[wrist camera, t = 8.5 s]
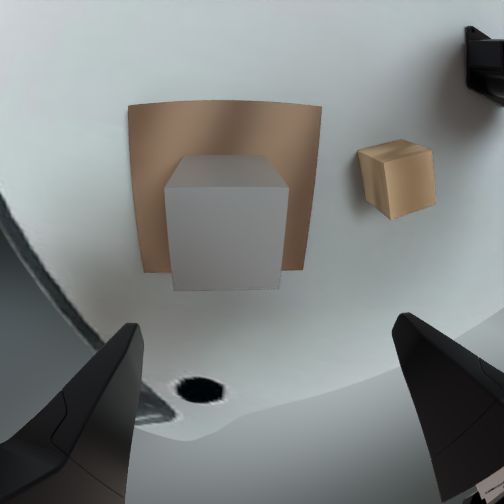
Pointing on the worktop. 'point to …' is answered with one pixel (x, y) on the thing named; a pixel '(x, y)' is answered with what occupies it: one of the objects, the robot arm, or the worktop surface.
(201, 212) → the slate block
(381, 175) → the oak cube
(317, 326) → the worktop surface
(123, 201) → the worktop surface
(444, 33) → the worktop surface
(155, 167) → the walnut board
